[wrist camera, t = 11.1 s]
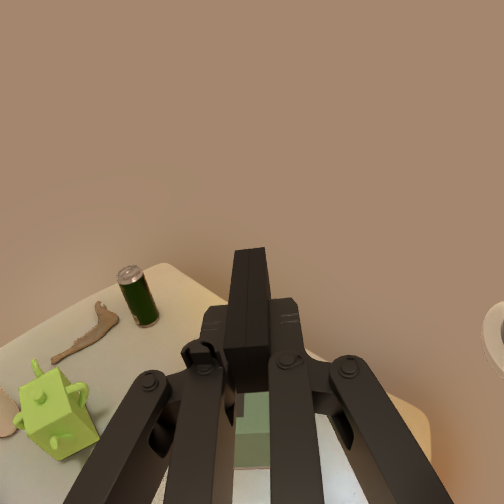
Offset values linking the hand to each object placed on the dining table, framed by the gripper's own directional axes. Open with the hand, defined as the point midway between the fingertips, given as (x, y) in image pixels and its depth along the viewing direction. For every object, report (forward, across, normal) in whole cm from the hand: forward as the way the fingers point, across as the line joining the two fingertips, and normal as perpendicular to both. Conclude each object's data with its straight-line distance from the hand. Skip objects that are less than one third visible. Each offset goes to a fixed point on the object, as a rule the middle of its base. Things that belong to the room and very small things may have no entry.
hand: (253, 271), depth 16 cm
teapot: (+4, -33, -30) cm, 45 cm away
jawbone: (+27, -42, -30) cm, 59 cm away
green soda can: (+32, -26, -30) cm, 51 cm away
